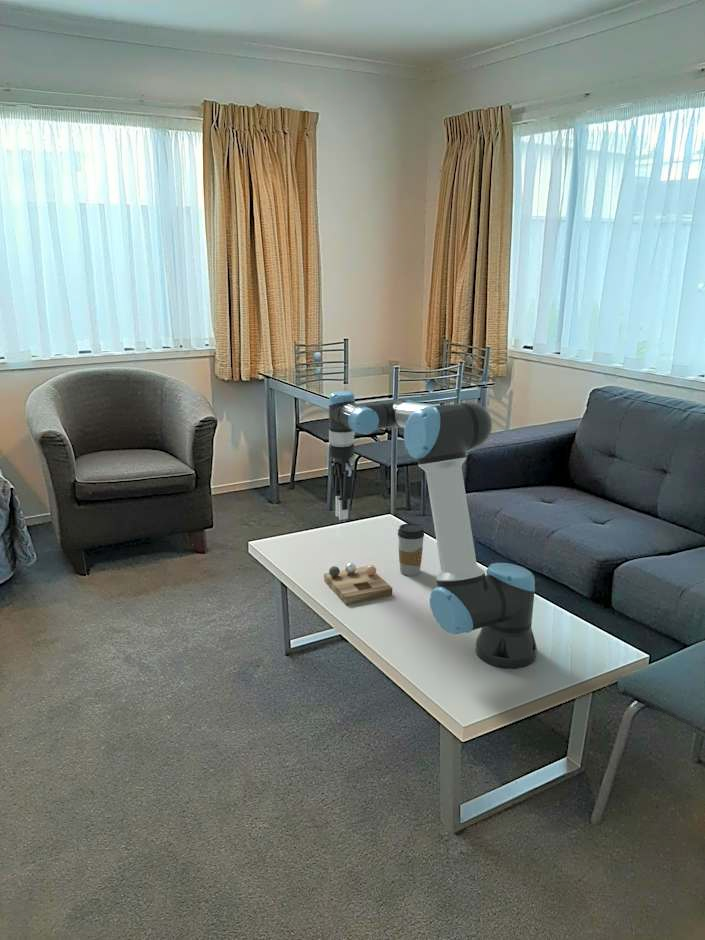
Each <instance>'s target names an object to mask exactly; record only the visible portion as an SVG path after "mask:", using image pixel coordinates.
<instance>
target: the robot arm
mask: <svg viewBox="0 0 705 940" xmlns="http://www.w3.org/2000/svg"><path fill="white" fill-rule="evenodd" d="M328 400H329V401H328V426H329V428H328V442H329V443H330V444H329V447H328V448H329V450H328V451H329V453H328V454H329V457H330V458H332V459H331V460H330V461H329V464H330V469H331V470H330V471H331V488H332V489H331V491H332V492H334V496H335V517H338V520H339V521H342V520H348V519H349V500H352V497H353V495H352V494H353V479H354V473H355V470H354V469H351V463H350V459H351V458H353V457H354V456H355V444H354V443H355V435H356V433H357V434H361V435H370V434H372V433H374V432H375V431H376V430H382V429H389V428H400V429H404V430H403V442H404V447H405V450H406V451H407V453H408V455H409V456H410V457H412V458H414V459H415V460H417V465H418V467H419V468H420V469H422V470H423V471H424V473H425V477H426V482H427V489H428V495H429V500H430V501H429V502H430V509H431V514H432V521H433V527H434V533H435V539H436V546H437V551H438V552H437V553H438V558H439V566H440V571H439V573H438V575H437V576H436V578H435V581H436V586H437V587H435V588H434V589H432V590H431V593H430V596H429V606H430V611H431V613H432V616H433V618H434V619H435V622H436V623H437V624H438V625H439V626H440V627H441V629H443V630H444V631H446V633H448V634H451V635H460V634H463V633H466V634H467V633H470V632H472V631H475V630H478V629H480V632H479V634H478V636H477V638H476V641H475V653H476V655H477V656H478V658H479V659H481V660H482V661H483V660H484V662H485V663H487V664H489V663H490V664H489V665H492V664H493V665H492V666H494V665H496V666H495V667H498V666H500V667H499V668H504V667H507V668H506V669H517V668H516V667H520V668H524V667H526V666H529V664H530V665H531V664H533V663H534V662H535V661H536V658H537V653H538V652H537V651H538V650H537V649H538V647H537V643H536V639H535V635H534V632H533V628H532V624H533V613H534V612H533V611H534V600H535V591H536V588H535V583H536V582H535V581H536V579H535V575H534V574H533V572H531V571H530V570H528V569H527V568H525V567H523V566H520V565H517V564H512V563H509V562H508V563H507V562H494V563H491V564H489V565H488V567H487V569H486V573H485V570H484V569H482V568H481V567H480V566H479V565H478V564H477V558H476V550H475V544H474V543H475V542H474V538H473V533H472V526H471V518H470V513H469V507H468V501H467V494H466V489H465V487H466V486H465V482H464V475H463V468H462V467H463V464H464V463H465V461H466V460H467V453H466V451H471V450H474V449H477V448H479V447H481V446H483V444H485V443H486V441H488V439H489V438H490V436H491V433H492V429H493V421H492V416H491V415H490V413H489V411H488V410H487V409H486V408H485V407H484V406H482V405H480V404H479V403H475V402H460V403H455V404H453V403H451V404H442V405H441V404H431V403H422V402H421V403H419V402H414V401H413V400H410V399H400V400H399V399H398V400H395V401H385V402H378V403H377V402H376V403H375V402H374V403H366V404H358V403H356V399H355V394H354V393H353V392H350V391H335V392H331V393H330V395H329V399H328ZM532 662H533V663H532Z"/></svg>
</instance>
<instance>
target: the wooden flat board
mask: <svg viewBox="0 0 705 940" xmlns="http://www.w3.org/2000/svg"><path fill="white" fill-rule="evenodd" d="M367 566H368V565H365V566H362V567H356V571H355V572H354V573H353V574H348V573H347V572H346V571H345V569H344V570H340V573H339V575H338V576H336V577H333V576H331V575H330V573H329V572H325V573H323V581H324V583H325V584H326V585H327V586H328V587H329V588H330V589H331V591H333V593H334V594H335V595H336V596H337V597H338V598H339V600H340V601H341V602H342V603H343V604H344V605H350V604H357V603H361V602H367V601H371V600H372V601H373V600H376V599H378V600H379V599H381V598H387V597H392V596H393V587H392V586H391V585H390V584H389V583H388V582H387V581H386V580H385V579H383V577H381V575H379V574H378V573H377V572H376V573H375V574H374V575H372V576H370V575H368V574H367V573H366V568H367Z"/></svg>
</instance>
